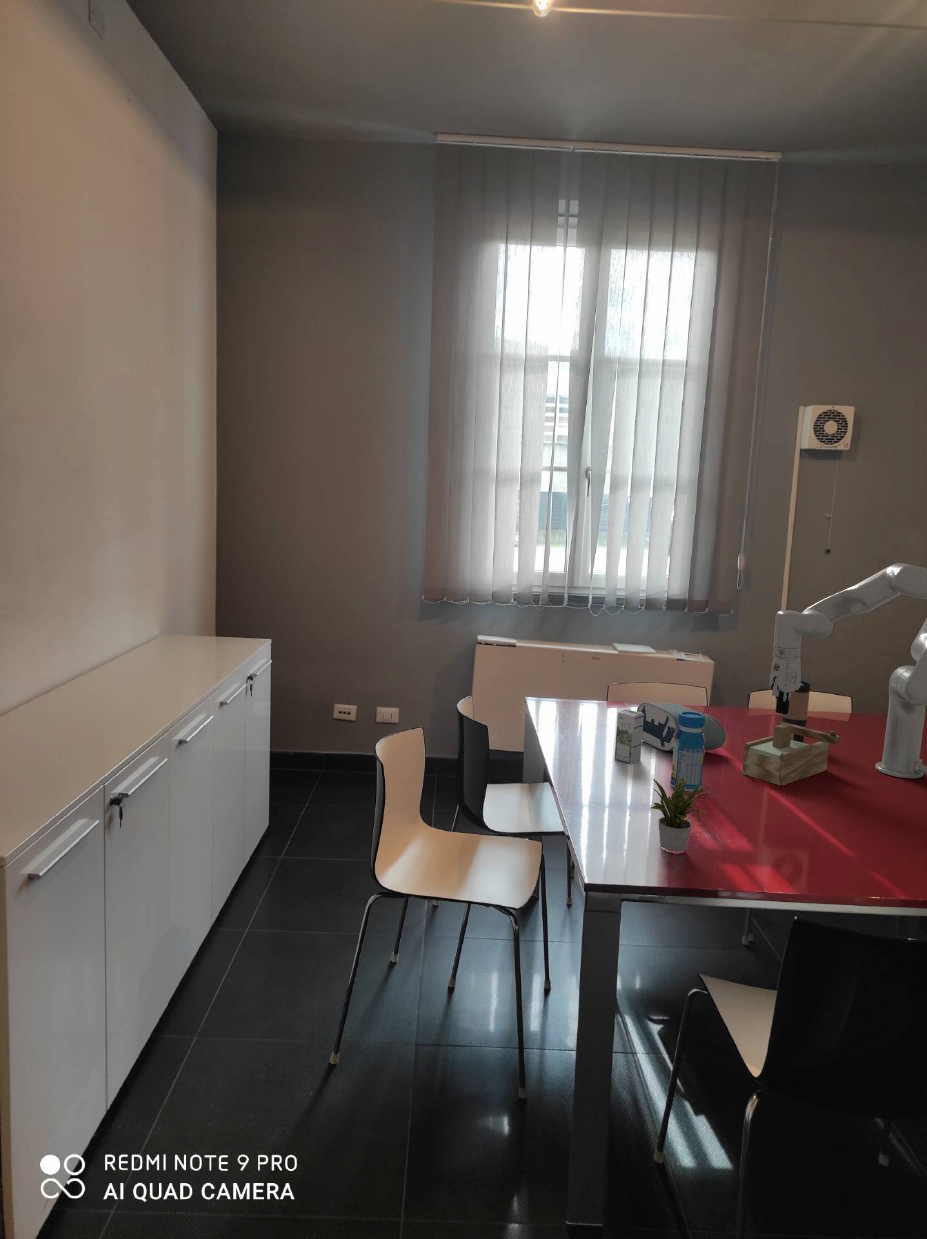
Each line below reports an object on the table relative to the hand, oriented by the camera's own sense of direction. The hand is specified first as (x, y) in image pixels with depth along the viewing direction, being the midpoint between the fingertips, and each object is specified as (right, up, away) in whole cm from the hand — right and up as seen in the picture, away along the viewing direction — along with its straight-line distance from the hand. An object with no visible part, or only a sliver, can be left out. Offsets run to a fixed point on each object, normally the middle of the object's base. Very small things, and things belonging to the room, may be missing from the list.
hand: (781, 713), depth 255 cm
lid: (-5, -9, -11) cm, 15 cm away
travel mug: (+11, -12, +23) cm, 28 cm away
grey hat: (-28, -12, +13) cm, 33 cm away
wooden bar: (+7, -6, -3) cm, 10 cm away
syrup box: (-47, -14, -4) cm, 49 cm away
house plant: (-48, -23, -69) cm, 87 cm away
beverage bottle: (-35, -17, -26) cm, 47 cm away
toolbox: (-2, -16, -8) cm, 18 cm away
